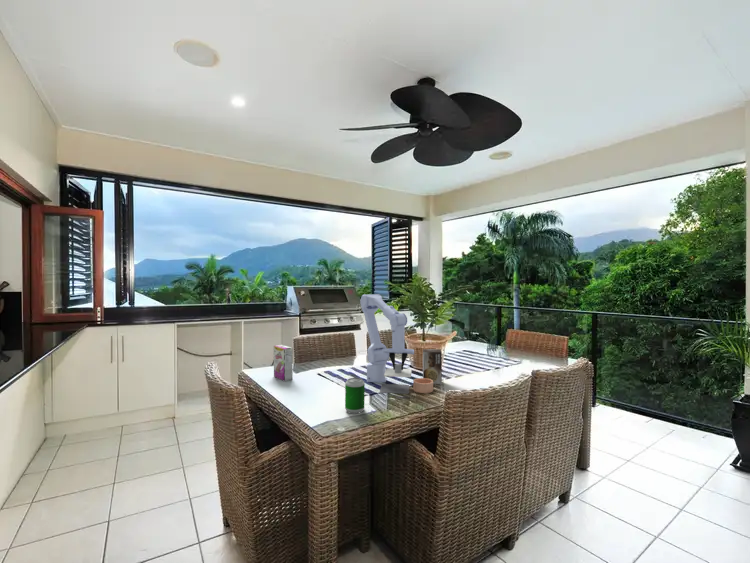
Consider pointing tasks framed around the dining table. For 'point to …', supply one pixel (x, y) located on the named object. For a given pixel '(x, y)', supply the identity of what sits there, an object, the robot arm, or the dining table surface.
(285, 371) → the candy bar box
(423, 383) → the bowl
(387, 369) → the cover
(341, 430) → the dining table surface
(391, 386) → the mat
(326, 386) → the dining table surface
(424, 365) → the coffee box
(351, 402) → the soda can
